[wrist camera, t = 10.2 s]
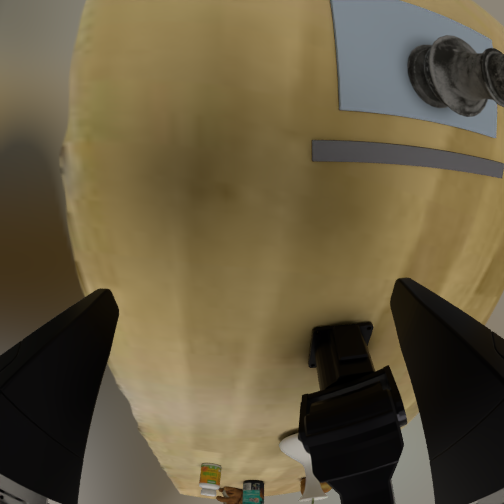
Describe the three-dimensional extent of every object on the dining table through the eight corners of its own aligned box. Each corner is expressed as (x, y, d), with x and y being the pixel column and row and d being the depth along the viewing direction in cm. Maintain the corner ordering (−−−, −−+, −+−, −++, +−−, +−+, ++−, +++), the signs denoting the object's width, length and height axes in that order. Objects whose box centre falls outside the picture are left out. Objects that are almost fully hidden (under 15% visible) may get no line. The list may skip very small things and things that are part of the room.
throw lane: (500, 177, 17) (502, 178, 17) (312, 160, 18) (313, 161, 18) (500, 47, 10) (503, 47, 10) (300, -15, 11) (300, -17, 11)
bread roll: (340, 471, 63) (342, 491, 56) (332, 477, 68) (333, 495, 61) (301, 475, 63) (302, 496, 56) (296, 480, 68) (297, 499, 61)
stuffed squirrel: (223, 485, 76) (221, 513, 64) (255, 489, 79) (254, 515, 67) (214, 487, 80) (211, 513, 69) (244, 491, 83) (243, 516, 72)
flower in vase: (297, 422, 38) (302, 556, 17) (350, 425, 40) (365, 542, 18) (265, 444, 44) (263, 552, 23) (313, 448, 46) (319, 546, 25)
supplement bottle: (219, 463, 55) (217, 494, 46) (222, 468, 57) (220, 497, 49) (199, 462, 55) (196, 492, 47) (203, 466, 58) (200, 495, 49)
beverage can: (259, 483, 70) (259, 511, 59) (240, 482, 69) (239, 510, 58) (267, 480, 66) (266, 510, 56) (247, 479, 65) (245, 509, 55)
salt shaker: (464, 113, 15) (579, 152, 4) (409, 110, 15) (539, 143, 5) (454, 47, 12) (568, 47, 1) (396, 36, 12) (516, 7, 2)
